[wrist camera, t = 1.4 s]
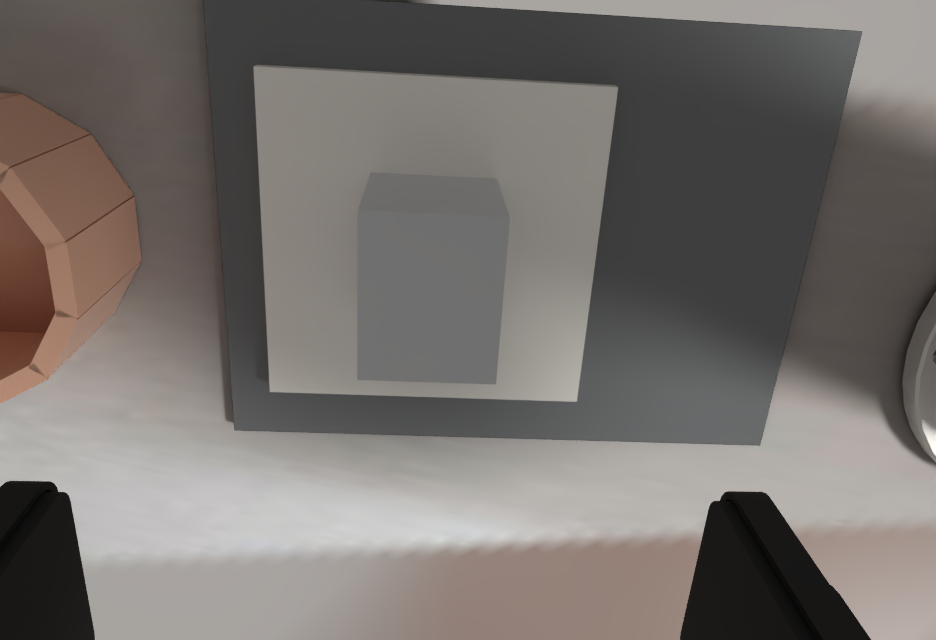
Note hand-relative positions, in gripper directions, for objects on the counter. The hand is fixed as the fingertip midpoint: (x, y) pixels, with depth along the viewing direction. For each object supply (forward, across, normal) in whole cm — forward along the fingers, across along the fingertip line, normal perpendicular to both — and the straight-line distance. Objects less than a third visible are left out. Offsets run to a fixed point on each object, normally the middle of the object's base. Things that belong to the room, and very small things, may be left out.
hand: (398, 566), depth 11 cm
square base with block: (+16, -1, 0) cm, 16 cm away
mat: (+16, -4, 0) cm, 16 cm away
